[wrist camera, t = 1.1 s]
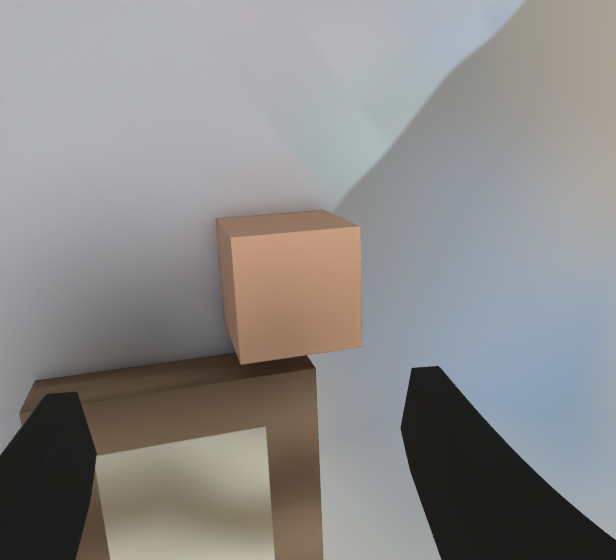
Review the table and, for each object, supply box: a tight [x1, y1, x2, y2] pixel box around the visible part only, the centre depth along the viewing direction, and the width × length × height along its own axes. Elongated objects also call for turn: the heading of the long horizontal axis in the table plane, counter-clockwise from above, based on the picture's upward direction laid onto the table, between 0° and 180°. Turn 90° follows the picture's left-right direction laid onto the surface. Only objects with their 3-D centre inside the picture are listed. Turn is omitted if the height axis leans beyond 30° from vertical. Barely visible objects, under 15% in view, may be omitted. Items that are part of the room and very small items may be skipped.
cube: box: [216, 210, 362, 365], centre depth 24 cm, size 5×5×5 cm
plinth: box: [19, 353, 323, 560], centre depth 26 cm, size 12×12×3 cm
